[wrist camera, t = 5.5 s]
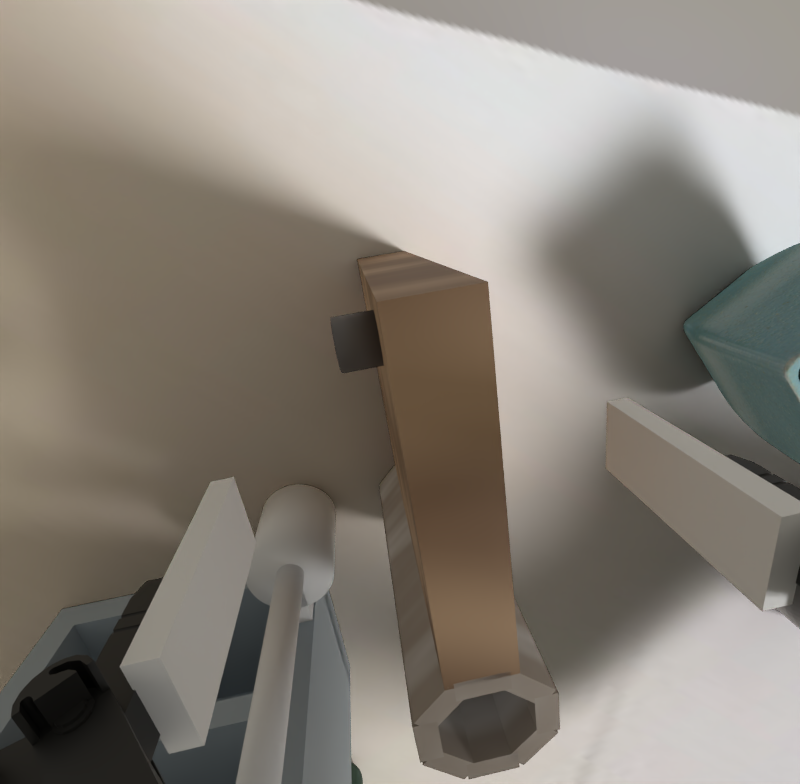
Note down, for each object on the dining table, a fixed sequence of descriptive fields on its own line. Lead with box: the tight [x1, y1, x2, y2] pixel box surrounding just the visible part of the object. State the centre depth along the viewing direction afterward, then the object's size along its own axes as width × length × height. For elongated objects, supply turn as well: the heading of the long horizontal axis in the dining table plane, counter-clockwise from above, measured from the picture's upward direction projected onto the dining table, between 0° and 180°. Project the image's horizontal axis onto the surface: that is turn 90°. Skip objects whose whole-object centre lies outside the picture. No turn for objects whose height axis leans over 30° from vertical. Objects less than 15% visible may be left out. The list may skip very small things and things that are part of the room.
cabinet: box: [0, 484, 352, 784], centre depth 20 cm, size 18×15×18 cm
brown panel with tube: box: [331, 251, 560, 779], centre depth 19 cm, size 17×5×14 cm, turn 9°
